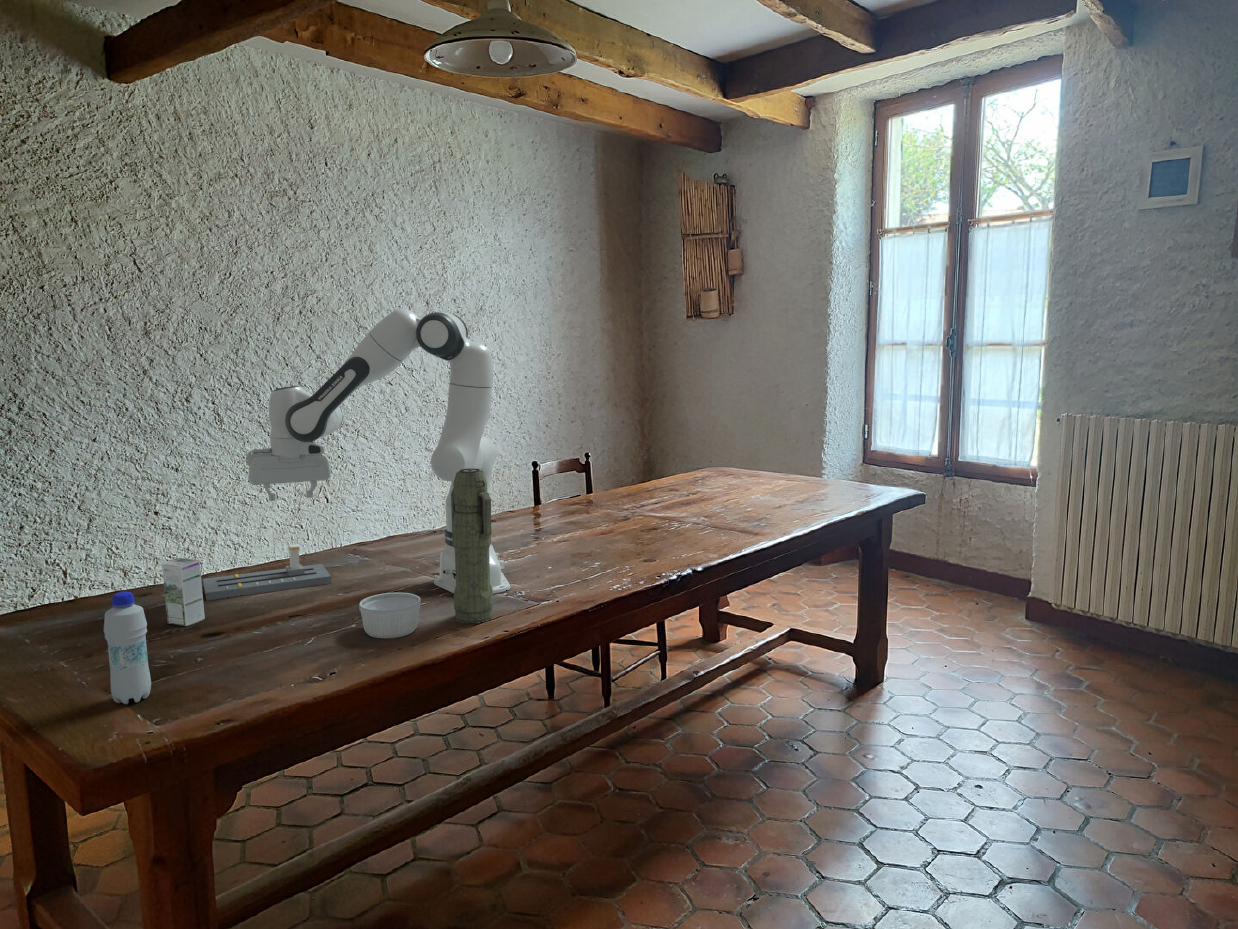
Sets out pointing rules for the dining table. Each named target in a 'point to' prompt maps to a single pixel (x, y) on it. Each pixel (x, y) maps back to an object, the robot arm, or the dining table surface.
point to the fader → (294, 562)
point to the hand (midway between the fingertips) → (291, 498)
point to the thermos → (471, 546)
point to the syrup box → (183, 591)
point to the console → (264, 582)
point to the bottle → (127, 649)
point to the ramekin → (390, 614)
